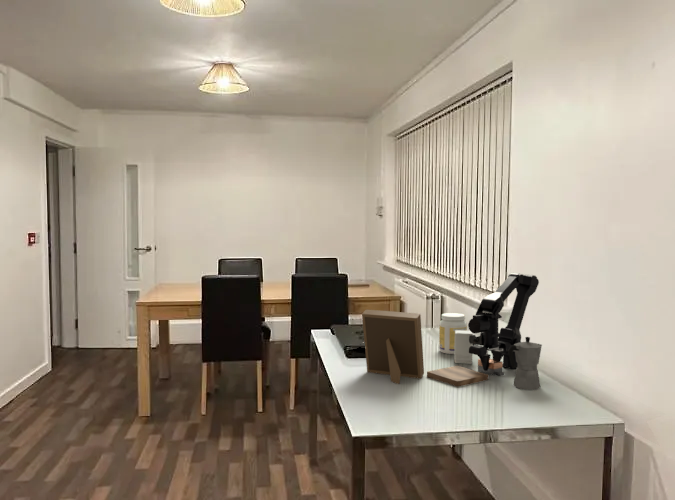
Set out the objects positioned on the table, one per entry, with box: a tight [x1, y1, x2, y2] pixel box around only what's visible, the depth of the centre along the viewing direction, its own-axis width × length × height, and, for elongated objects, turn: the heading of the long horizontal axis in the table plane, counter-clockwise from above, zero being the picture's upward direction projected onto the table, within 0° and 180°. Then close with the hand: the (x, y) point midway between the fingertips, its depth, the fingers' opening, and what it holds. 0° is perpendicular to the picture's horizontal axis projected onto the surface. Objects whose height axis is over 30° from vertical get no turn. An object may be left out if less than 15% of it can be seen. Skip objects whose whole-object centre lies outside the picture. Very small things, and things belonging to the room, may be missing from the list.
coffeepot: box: [508, 336, 543, 391], centre depth 208 cm, size 15×9×18 cm, turn 116°
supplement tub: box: [438, 312, 468, 355], centre depth 262 cm, size 12×12×17 cm
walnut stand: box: [426, 365, 489, 388], centre depth 219 cm, size 16×16×2 cm
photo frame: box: [361, 309, 425, 385], centre depth 220 cm, size 15×22×25 cm
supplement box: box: [453, 330, 474, 365], centre depth 245 cm, size 7×7×13 cm
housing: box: [477, 358, 505, 377], centre depth 227 cm, size 5×10×5 cm, turn 34°
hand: (490, 369), depth 228 cm, fingers closed on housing, 5 cm apart
